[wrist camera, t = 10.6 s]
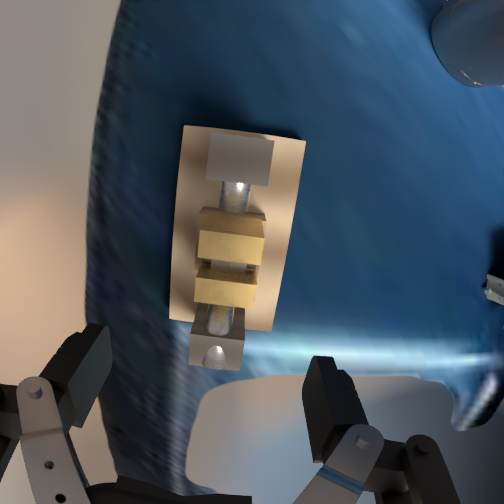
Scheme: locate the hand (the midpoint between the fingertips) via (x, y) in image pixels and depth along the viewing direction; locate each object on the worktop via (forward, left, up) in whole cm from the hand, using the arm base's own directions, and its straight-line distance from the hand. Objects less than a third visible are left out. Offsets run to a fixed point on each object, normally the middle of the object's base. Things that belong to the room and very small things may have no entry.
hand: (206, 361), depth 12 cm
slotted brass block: (0, 0, -14) cm, 14 cm away
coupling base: (0, 0, -18) cm, 18 cm away
